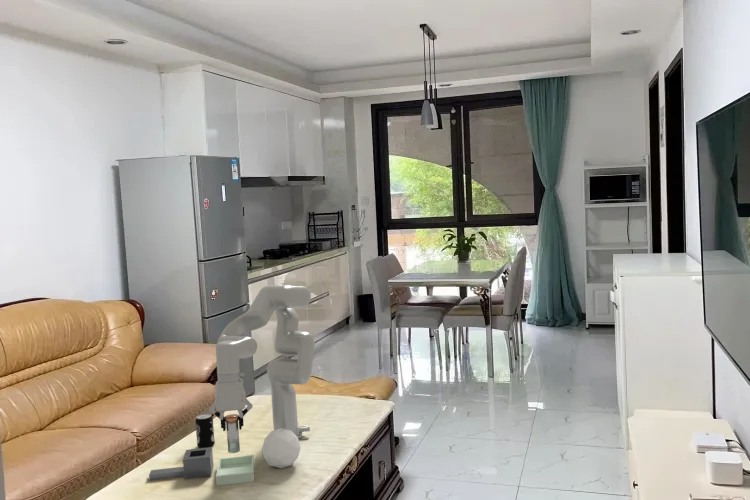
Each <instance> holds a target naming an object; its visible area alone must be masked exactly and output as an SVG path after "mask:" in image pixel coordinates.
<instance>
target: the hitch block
mask: <svg viewBox="0 0 750 500" xmlns="http://www.w3.org/2000/svg"><path fill="white" fill-rule="evenodd" d="M213 470H214V455H213V446H212V447H208V448H199V447H198V448H192V449H190V448H189V449H185V452H184V455H183V459H182V466H177V467H169V468H168V467H167V468H161V469H151V470H150V472H149V475H148V477H149V479H148V480H149V481H158V480H165V479H173V478H174V479H175V478H182V477H184V481H185V480H193V479H194V480H195V479H201V478H208V477H209V478H211V477H212V475H213Z"/></svg>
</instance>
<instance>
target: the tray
mask: <svg viewBox="0 0 750 500" xmlns="http://www.w3.org/2000/svg"><path fill="white" fill-rule="evenodd" d="M216 469H217V470H216V475H215V484H216V487H219V486H226V485H235V484H243V483H244V484H245V483H251V482H254V481H255V480H254V479H255V478H254V477H255V455H254V454H251V455H241V456H231V457H223V458H222V457H221V458H218V464H217V468H216Z"/></svg>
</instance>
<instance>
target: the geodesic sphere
mask: <svg viewBox="0 0 750 500" xmlns="http://www.w3.org/2000/svg"><path fill="white" fill-rule="evenodd" d="M301 448H302V447H301V444H300V439H298V437H297V436H296V435H295V434H294V433H293V432H292V431H291V430H287V429H285V426H284V429H283V428H280V429H277V430H274V429H273V430H272V431H270V432H269V433H268V434H267V436H266V437H265V438H264V440H263V445H262V454H263V457H264V460H265V461H266V462H267V464H268V465H270V466H272V467H275V468H279V469H283V468H287V467H290V466H292V465H293V464H294V463H295V462H296V461H297V459H298V458H299V455H300V451H301Z"/></svg>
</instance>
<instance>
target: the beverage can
mask: <svg viewBox="0 0 750 500" xmlns="http://www.w3.org/2000/svg"><path fill="white" fill-rule="evenodd" d="M195 417H196V419H195V422H194V423H195V433H196V446H197V447H198V449H199V448H208V447H212V448H213V447H214V445H215V443H216V442H215V429H214V428H215V427H214V418H213V416H212V413H201V414H198V415H196V416H195Z"/></svg>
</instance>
